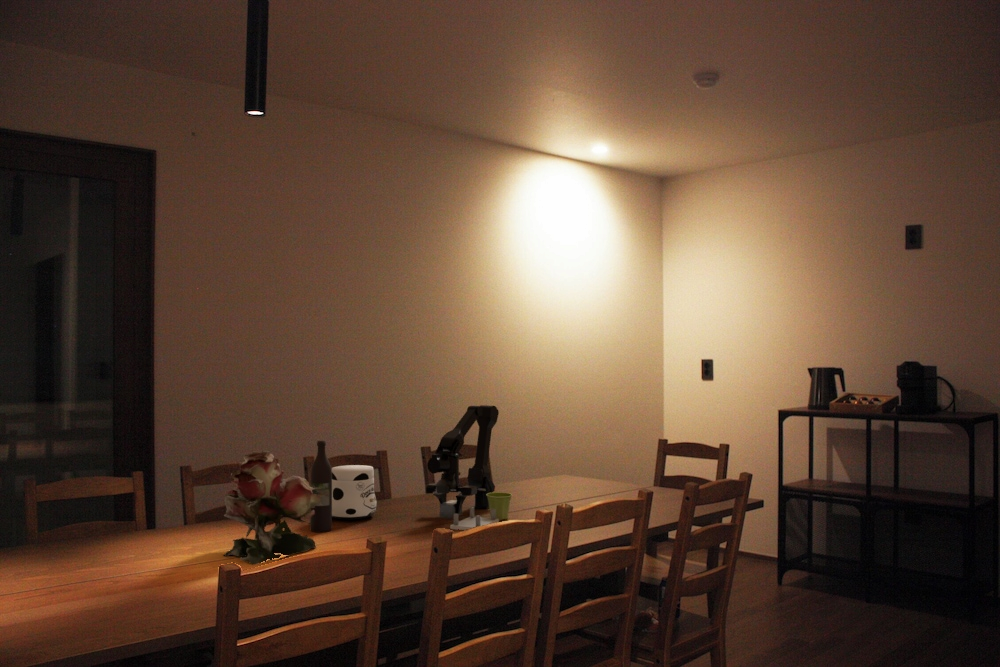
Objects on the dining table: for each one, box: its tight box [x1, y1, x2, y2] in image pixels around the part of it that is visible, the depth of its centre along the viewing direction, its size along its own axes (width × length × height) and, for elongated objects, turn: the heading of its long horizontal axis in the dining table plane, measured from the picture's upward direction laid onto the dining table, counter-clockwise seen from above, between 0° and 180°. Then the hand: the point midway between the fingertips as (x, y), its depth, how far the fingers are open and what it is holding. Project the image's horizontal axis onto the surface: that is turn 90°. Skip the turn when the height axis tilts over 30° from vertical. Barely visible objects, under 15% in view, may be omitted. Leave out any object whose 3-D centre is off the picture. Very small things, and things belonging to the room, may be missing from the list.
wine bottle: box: [309, 439, 333, 533], centre depth 268 cm, size 7×7×30 cm
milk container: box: [331, 464, 378, 521], centre depth 289 cm, size 17×17×18 cm
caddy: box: [449, 506, 500, 531], centre depth 274 cm, size 16×11×5 cm
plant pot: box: [486, 491, 513, 521], centre depth 286 cm, size 9×9×9 cm
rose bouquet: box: [223, 450, 321, 565], centre depth 241 cm, size 26×29×30 cm
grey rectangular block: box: [439, 499, 463, 520], centre depth 291 cm, size 9×5×5 cm, turn 160°
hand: (451, 513), depth 291 cm, fingers closed on grey rectangular block, 5 cm apart
